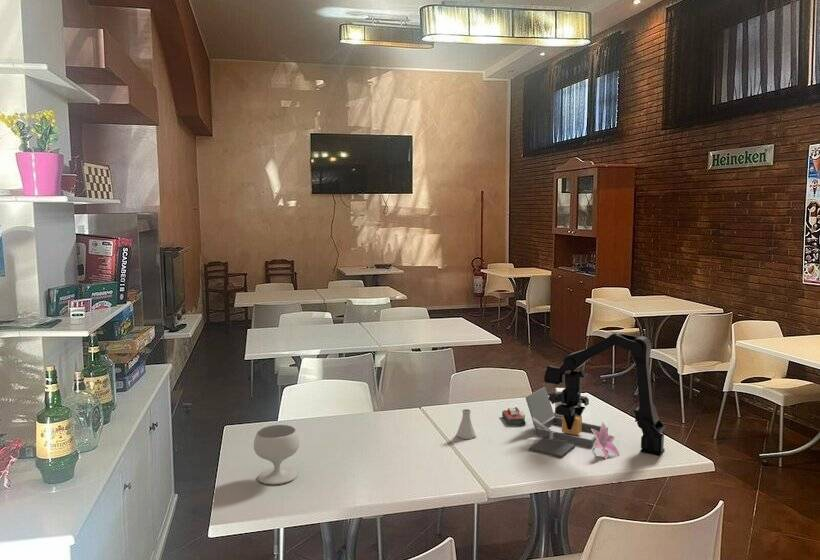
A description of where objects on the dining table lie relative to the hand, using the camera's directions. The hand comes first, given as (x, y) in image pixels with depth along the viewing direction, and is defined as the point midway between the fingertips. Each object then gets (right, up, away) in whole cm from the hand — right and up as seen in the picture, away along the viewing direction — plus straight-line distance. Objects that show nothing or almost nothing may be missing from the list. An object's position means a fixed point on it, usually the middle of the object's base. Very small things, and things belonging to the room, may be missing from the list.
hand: (571, 427), depth 226 cm
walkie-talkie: (-19, -1, +19) cm, 27 cm away
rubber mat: (-11, -4, -14) cm, 18 cm away
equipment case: (-2, -3, +1) cm, 3 cm away
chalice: (-102, -7, -37) cm, 109 cm away
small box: (+4, -1, +24) cm, 24 cm away
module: (0, -2, 0) cm, 2 cm away
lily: (+6, -5, -19) cm, 20 cm away
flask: (-40, -3, -1) cm, 40 cm away
